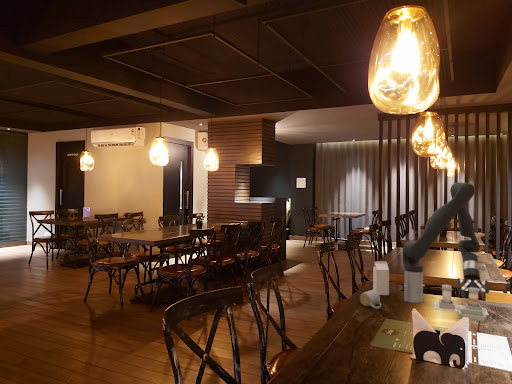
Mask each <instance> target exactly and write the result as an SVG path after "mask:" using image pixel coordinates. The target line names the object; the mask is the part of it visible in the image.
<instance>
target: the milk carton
mask: <svg viewBox="0 0 512 384" xmlns="http://www.w3.org/2000/svg"><path fill="white" fill-rule="evenodd" d="M372 268H373V271H372V276H373V277H372V290H375V291H377V293H378V294H379V296H389V295H390V269H389V265H388V261H374V264H373V267H372Z"/></svg>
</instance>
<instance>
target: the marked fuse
mask: <svg viewBox="0 0 512 384" xmlns="http://www.w3.org/2000/svg"><path fill="white" fill-rule="evenodd" d="M479 293H480V291H479V288H476V287H469V288H468V303H469V305H468V306H475V307H478V304H479Z"/></svg>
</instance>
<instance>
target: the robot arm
mask: <svg viewBox="0 0 512 384" xmlns="http://www.w3.org/2000/svg"><path fill="white" fill-rule="evenodd" d="M475 193H476V188H475V185H474V184H472V183H469V182H459V181H458V182H454V183H453V184H452V185H451V186H450V195H451V199H450V200H449V201H447V203H445V204H443V205H442V206H440V207H439V208H437V209H436V210H435V211H434V212H433V213H432V214H431V215H430V216H429V218H428V220H427V221H426V224H425V228H424V231H423V232H422V234H421V235H420V236H419V238H418V239H417V240H408V241H406V242H404V244H403V247H402V263H403V267H404V285H403V287H404V288H403V290H404V291H403V295H404V296H403V297H404V298H403V299H404V300H403V303H406V302H407V303H411V304H422V303H423V301H424V299H423V298H424V297H423V296H424V295H423V294H424V291H423V290H424V284H423V283H424V276H423V275H424V267H423V265H422V263H421V261H420V260H422V259H423V258H424V257H425V255H426V254H427V252H428V251H429V249H430V248H431V246H432V245H433V244H434V242H435V241H436V240H437V238H438V237H439V236H440V235H441V233H442V232H443V231H444V230H445V229H446V227H447V226H448V225H449V224H450V222H451V221H452V220H453V218H454V217H455V216H456V215H457V220H458V228H459V235H460V236H462V237H466V238H469V239H461V240H459V241H458V242H457V247H458V250H459V253H460V254H461V257H462V273H463V279H461V278H459V277H457V281H456V290H457V291H460V292H461V297H462V299H465V297H466V295H465V294H466V293H465V291H466V290H468V289H469V287H476V288H479V293H481V297H482V298H481V299H482V301H485V300H486V298H487V295H486V294H489V293H490V285H489V281H488V280H485V281H482V280H481V273H480V267H479V266H480V265H479V259H478V255H477V254H475V253H478V252H480V250H481V246H480V245H481V244H480V243H479V240H478V239H477V237H476V234H475V227H474V221H473V218H472V216H471V214H470V211H469V210H468V208H467V206H466V204H467V203H468V202H469V201H470V200H471V199H472V198H473V197H474V195H475ZM461 284H463V286H462V287H461ZM482 285H483V286H484V287H483V286H482Z"/></svg>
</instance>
